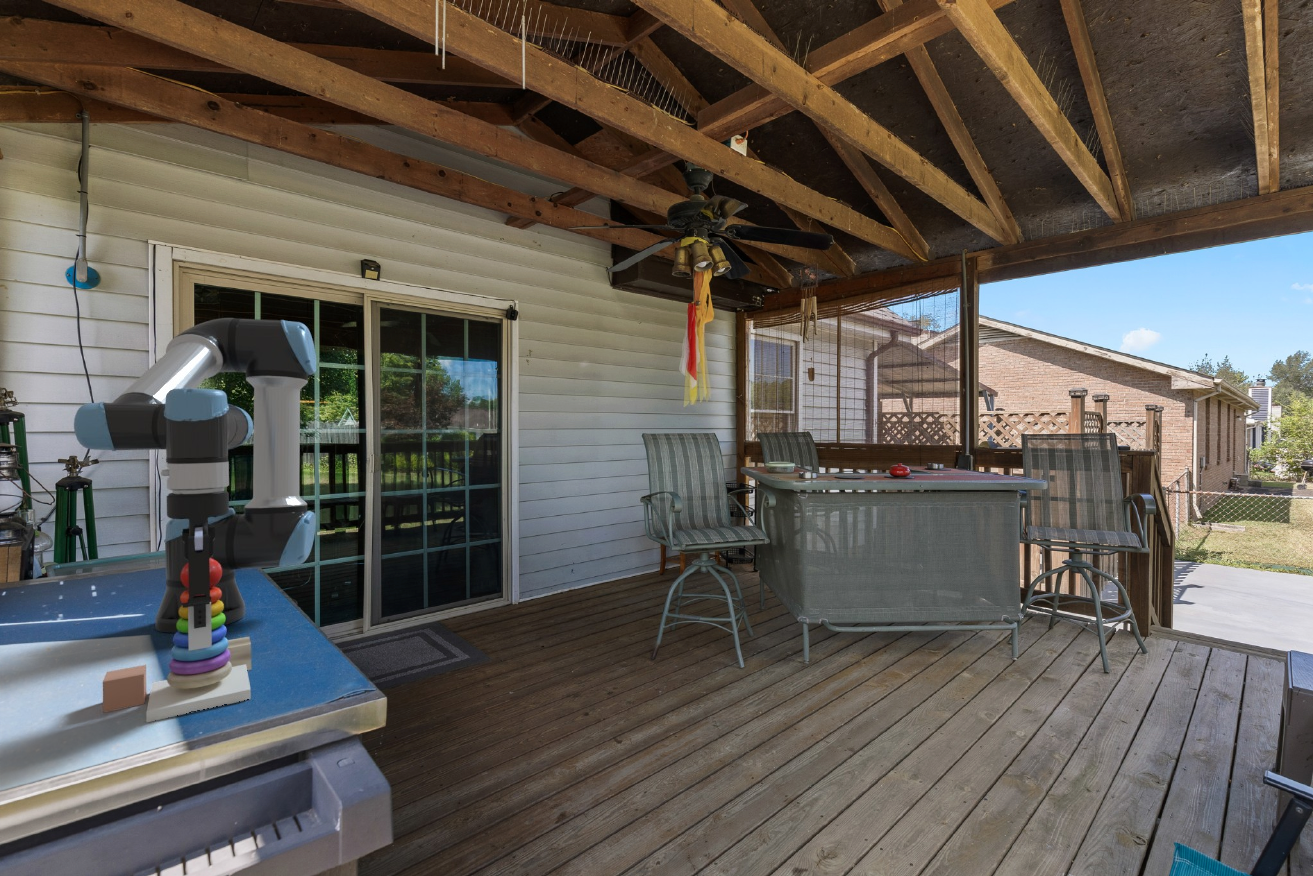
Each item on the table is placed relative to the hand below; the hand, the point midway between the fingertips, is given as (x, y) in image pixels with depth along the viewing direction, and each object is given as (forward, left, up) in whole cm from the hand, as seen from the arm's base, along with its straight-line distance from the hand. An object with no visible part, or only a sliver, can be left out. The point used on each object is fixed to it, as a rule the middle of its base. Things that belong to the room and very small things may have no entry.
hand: (200, 640), depth 92 cm
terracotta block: (-4, -9, -9) cm, 13 cm away
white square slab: (0, 0, -8) cm, 8 cm away
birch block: (-9, +4, -9) cm, 14 cm away
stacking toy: (0, 0, -6) cm, 6 cm away
